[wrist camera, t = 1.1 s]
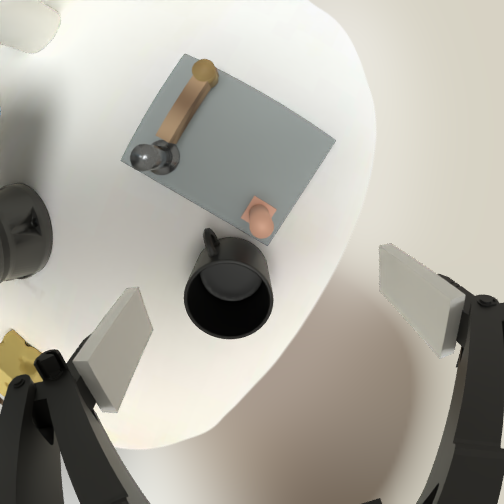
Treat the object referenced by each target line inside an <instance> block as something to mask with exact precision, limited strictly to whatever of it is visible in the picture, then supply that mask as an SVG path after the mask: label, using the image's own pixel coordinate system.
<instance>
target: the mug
mask: <svg viewBox="0 0 504 504" xmlns="http://www.w3.org/2000/svg"><path fill="white" fill-rule="evenodd" d="M203 237H204V242H205V246H206V248H205V249H204V250H203V251H202V252H201V254H200V256H199V258H198V260H197V262H196V264H195V266H194V269H193V271H192V273H191V275H190V277H189V280H188V282H187V284H186V287H185V291H184V304H185V308H186V311H187V314H188V316H189V317H190V319H191V320H192V322H193V323H194V324H195V325H196V326H197V327H198V328H199V329H200V330H202V331H203V332H205V333H207V334H209V335H211V336H214V337H217V338H222V339H238V338H243V337H246V336H248V335H251V334H253V333H254V332H256V331H257V330H259V329H260V328H261V327H262V326H263V325H264V324H265V323H266V321H267V320H268V318H269V316H270V314H271V311H272V308H273V293H272V287H271V282H270V277H269V272H268V267H267V263H266V260H265V257H264V256H263V254H262V253H261V251H260V250H259V249H258V248H257V247H256V246H255V245H253V244H252V243H250V242H248V241H246V240H244V239H240V238H233V237H228V238H222V239H219V240H218V239H217V237H216V235H215V233H214V232H213V231H212V230H211V229H210V228H206V229H205V230H204V233H203Z"/></svg>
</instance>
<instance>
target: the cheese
mask: <svg viewBox="0 0 504 504" xmlns="http://www.w3.org/2000/svg"><path fill="white" fill-rule="evenodd" d="M40 354H42V353H41V352H39V351H38V350H36V349H35V348H33V347H28V346H27V345H26V344H25V340H24V339H23V338H22V337H20V336H19V335H18V334H17V333H16V332H15V331H14V330H12V331H9V332H8V333H7V334H6V335H5V336H4V338H3V341H2V343H0V393H1V394H2V395H3V396H5V395H6V391H7V388H8V385H9V383H10V382H11V381H12V379H13V378H15V377H16V376H19V375H23V374H27V375H29V376H30V378H31V379H32V381H33V382H34V383H37V382H42V381H43V380H42V378H41V376H40V375H39V373H38V371H37V370H36V368H35V366H34V361H35V359H36V358H37V357H38V356H39V355H40Z"/></svg>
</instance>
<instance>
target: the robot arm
mask: <svg viewBox="0 0 504 504" xmlns="http://www.w3.org/2000/svg"><path fill="white" fill-rule="evenodd" d="M0 115H1V108H0ZM51 248H52V229H51V223H50V219H49V215H48V212H47V210H46V207H45V205H44V203H43V202H42V200H41V198H40V197H39V196H38V194H37V193H36V192H35V191H34V190H33V189H31V188H30V187H28V186H26V185H24V184H11V185H7V186H4V187H2V188H0V283H1V282H3V281H8V280H14V279H25V278H28V277H31V276H32V275H34V274H36V273H37V272H39V271H40V270H41V269H42V268H43V267H44V266H45V264H46V263H47V261H48V259H49V256H50V253H51ZM379 265H380V266H379V268H380V270H379V272H380V275H379V280H380V281H379V285H380V286H379V291H380V292H381V294H382V295H383V296H384V297H385V298H386V299H387V300H388V301H389V302H390V303H391V304H392V305H393V306H394V308H395V309H396V310H397V311H398V312H399V313H400V314H401V315H402V316H403V317H404V318H405V320H406V321H407V322H408V323H409V324H410V325H411V326H412V328H413V329H414V330H415V331H416V332H417V333H418V334H419V335H420V337H421V338H422V339H423V340H424V341H425V342H426V343H427V345H428V346H429V347H430V348H431V349H432V351H433V352H434V353H435V354H436V355H437V356H438V358H439V359H441V358H443V357H446V356H448V355H451V354H453V353H454V350H455V346H456V341H457V342H458V343H459V344H460V345H461V350H460V354H459V358H458V361H457V365H456V367H458V369H457V374H456V380H455V386H454V391H453V396H452V400H451V405H450V410H449V413H448V417H447V421H446V425H445V429H444V433H443V436H442V440H441V443H440V446H439V449H438V452H437V456H436V459H435V461H434V464H433V467H432V470H431V473H430V475H429V478H428V481H427V483H426V486H425V488H424V490H423V492H422V494H421V496H420V498H419V499H418V501H417V503H416V504H497V503H498V499H499V495H500V490H501V486H502V481H503V476H504V449H502V448H501V446H500V445H501V436H502V427H503V416H504V303H499V302H498V300H497V299H495V298H494V297H492V296H489V295H477V296H474V295H473V294H471V293H470V292H468V291H467V290H466V289H464V288H463V287H462V286H460V285H459V284H457V283H455V281H453V280H452V279H450V278H449V277H446V276H444V275H441V274H436V273H434V272H433V271H432V270H430V269H429V268H427V267H426V266H424V265H423V264H422V263H420V262H418V261H417V260H416V259H414V258H413V257H411V256H410V255H408V254H406V253H405V252H404V251H402V250H401V249H399V248H398V247H396V246H394V245H393V244H385V245H380V246H379ZM152 331H153V327H152V325H151V322H150V319H149V316H148V314H147V311H146V308H145V305H144V302H143V299H142V296H141V293H140V290H139V287H134V288H127V289H126V290H125V291H124V292H123V294H122V295H121V296H120V297H119V299H118V300H117V301H116V303H115V304H114V305H113V306H112V308H111V309H110V310H109V312H108V313H107V314H106V316H105V317H104V318H103V320H102V321H101V322H100V324H99V325H98V326H97V328H96V329H95V330H94V332H93V333H92V334H90V335H89V336H88V337H86V338H85V339H84V340H83V341H82V343H81V344H80V345H79V347H78V348H77V350H76V351H75V352H74V354H73V355H72V356H71V358H70V359H69V361H68V362H67V363H65V361H64V359H63V357H62V355H61V353H60V352H59V351H58V350H55V349H54V350H48V351H45V352H44V353H42V354H40V355H39V356H38V357H37V358H36V359H35V361H34V366H35V368H36V370H37V371H38V373H39V375H40V376H41V378H42V380H43V381H42V382H37V383H34V382H33V381H32V379H31V378H30V376H29V375H27V374H23V375H19V376H16V377H15V378H13V379H12V381H11V382H10V383H9V385H8V388H7V391H6V395H5V399H4V402H3V406H2V410H1V414H0V504H64V499H63V490H62V479H61V462H60V451H61V454H62V457H63V460H64V463H65V466H66V469H67V471H68V475H69V477H70V480H71V482H72V485H73V487H74V490H75V492H76V495H77V497H78V499H79V502H80V504H150V503H149V501H148V500H147V499H146V497H145V496H144V494H143V493H142V492H141V490H140V488H139V487H138V485H137V484H136V483H135V481H134V479H133V478H132V476H131V475H130V473H129V472H128V470H127V468H126V467H125V465H124V464H123V462H122V461H121V459H120V457H119V455H118V454H117V452H116V450H115V448H114V446H113V445H112V443H111V441H110V439H109V437H108V435H107V433H106V432H105V430H104V428H103V426H102V424H101V422H100V420H99V418H98V416H97V414H96V412H95V411H94V409H93V408H94V406H95V404H96V403H97V405H98V406H99V408H100V409H101V411H102V412H109V413H118V410H119V408H120V405H121V403H122V400H123V398H124V395H125V393H126V391H127V388H128V386H129V384H130V381H131V379H132V377H133V374H134V372H135V370H136V367H137V365H138V363H139V360H140V358H141V356H142V354H143V351H144V349H145V347H146V345H147V342H148V340H149V338H150V336H151V334H152ZM363 504H382V502H381V500H380V498H379V499H376V500H372V501H369V502H366V503H363Z"/></svg>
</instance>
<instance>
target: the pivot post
mask: <svg viewBox="0 0 504 504" xmlns="http://www.w3.org/2000/svg"><path fill="white" fill-rule="evenodd" d="M179 161H180V152H179V149H178V147H177V146H176V145H175V144H173V143H168V142H167V141H165V140H158V141H155V142H154V143H152V144H151V145H150V144H139V145H137V146H136V147H135V148H134V149H133V150H132V152H131V155H130V162H131V165H132V166H133V168H134V169H136V170H138V171H149V170H150V171H151V172H152V173H154V174H156V175H166V174H169V173H171V172H173V171H174V170H175V169H176V168H177V166H178V164H179Z"/></svg>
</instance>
